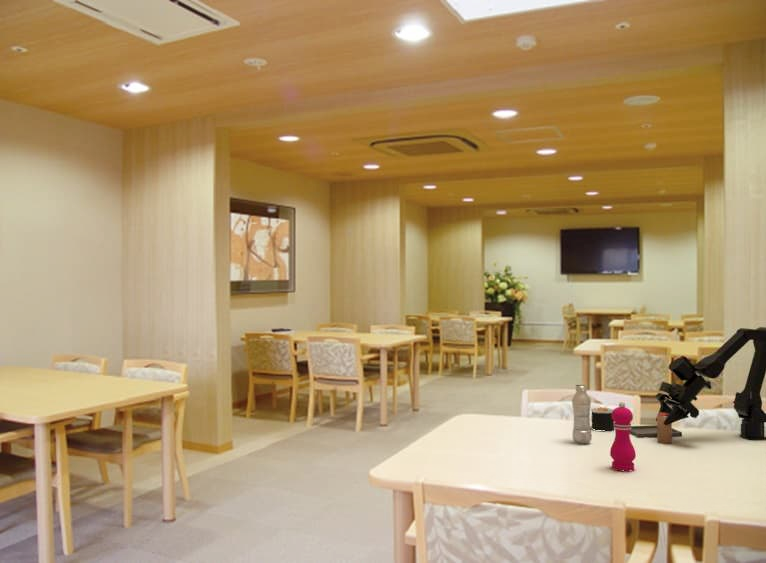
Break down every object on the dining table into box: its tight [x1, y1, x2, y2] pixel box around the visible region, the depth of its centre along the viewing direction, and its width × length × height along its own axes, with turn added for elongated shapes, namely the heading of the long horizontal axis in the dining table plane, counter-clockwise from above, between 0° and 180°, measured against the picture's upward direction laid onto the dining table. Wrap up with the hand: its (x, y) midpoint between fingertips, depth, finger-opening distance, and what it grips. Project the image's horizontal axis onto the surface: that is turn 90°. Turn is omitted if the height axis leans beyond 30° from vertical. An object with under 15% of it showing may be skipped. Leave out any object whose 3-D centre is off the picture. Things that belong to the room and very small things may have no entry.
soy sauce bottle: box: [656, 412, 673, 445], centre depth 226 cm, size 5×5×10 cm
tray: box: [629, 424, 683, 439], centre depth 240 cm, size 16×12×1 cm
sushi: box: [590, 406, 615, 432], centre depth 247 cm, size 8×8×8 cm
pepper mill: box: [609, 401, 637, 472], centre depth 197 cm, size 7×7×20 cm
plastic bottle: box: [571, 384, 593, 444], centre depth 228 cm, size 6×7×20 cm
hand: (660, 422), depth 226 cm, fingers closed on soy sauce bottle, 5 cm apart
